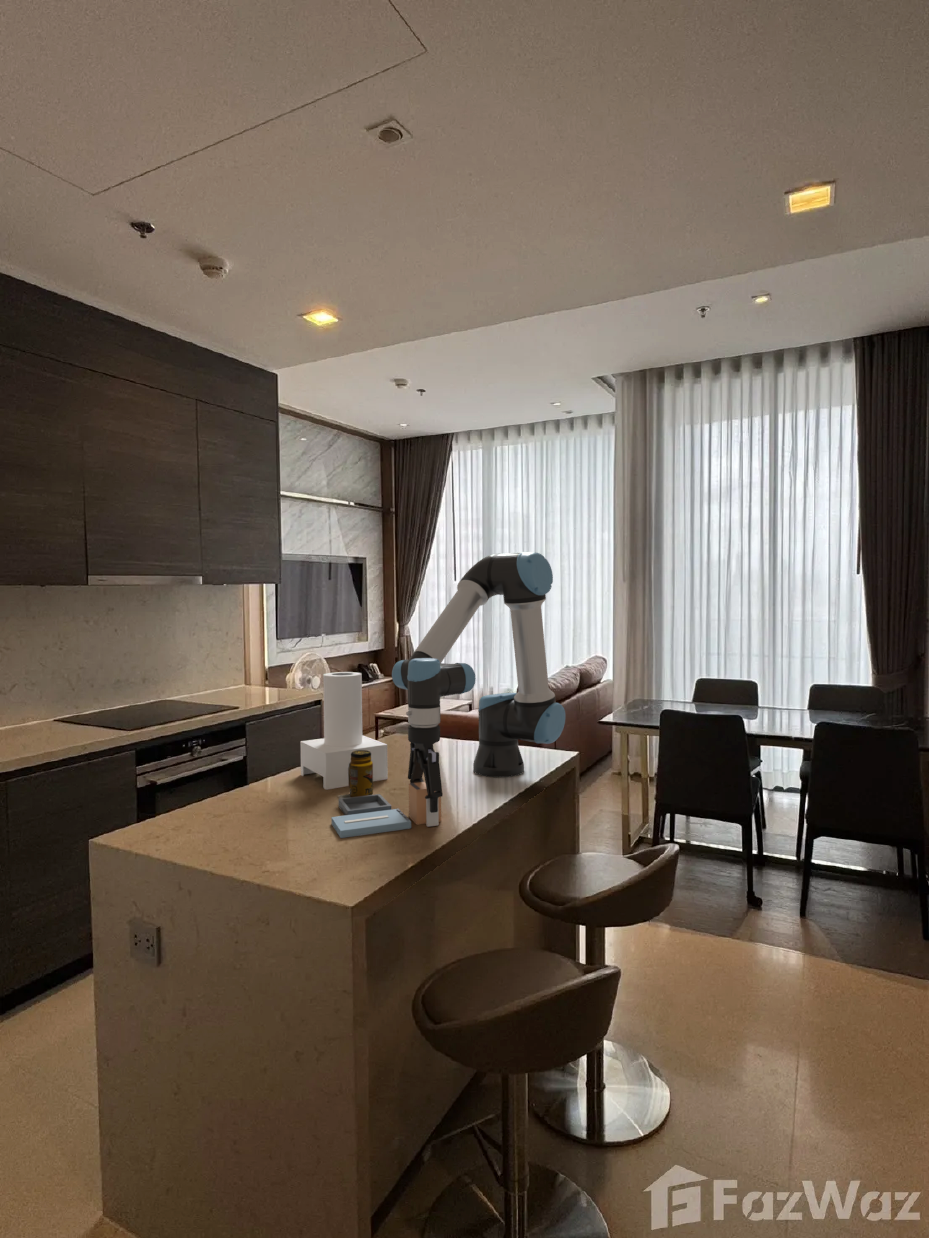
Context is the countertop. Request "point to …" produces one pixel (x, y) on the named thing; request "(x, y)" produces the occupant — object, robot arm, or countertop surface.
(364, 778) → the condiment
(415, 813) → the stub
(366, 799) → the tray
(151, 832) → the countertop surface
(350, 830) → the board
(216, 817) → the countertop surface
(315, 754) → the paper towel holder
